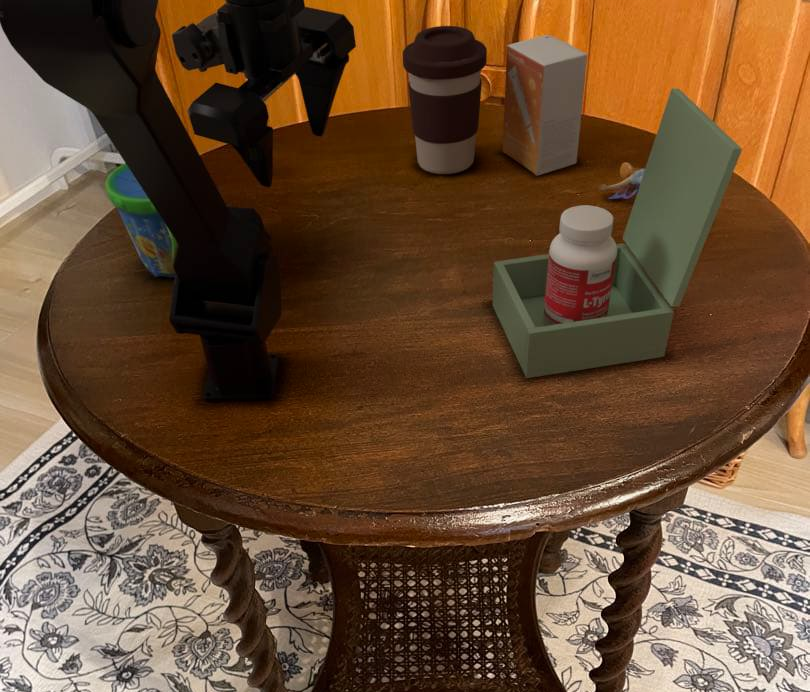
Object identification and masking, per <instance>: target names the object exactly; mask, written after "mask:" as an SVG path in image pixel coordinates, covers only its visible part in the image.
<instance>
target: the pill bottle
mask: <svg viewBox="0 0 810 692" xmlns="http://www.w3.org/2000/svg"><path fill="white" fill-rule="evenodd" d="M613 225H614V216H613V214H612V213H611V212H610V211H608V210H607V209H605V208H603V207H601V206H595V205H587V204H583V205H575V206H571V207H569V208H567V209H565V210H563V212H561V214H560V219H559V226H558V229H559V233H558V234H557V235H556V236H555V237H554V238H553V239H552V241H551V243H550V245H549V250H548V254H549V260H548V271H547V282H546V293H545V304H544V316H543V319H544V323H545V325H546V326H549V325H556V324H563V323H569V322H576V321H583V320H589V319H596V318H603V317H607V315H608V308H609V302H610V295H611V288H612V282H613V275H614V269H615V263H616V256H617V246H616V244H617V242H616V241H615V239H614V238H613V237H612V233H613Z"/></svg>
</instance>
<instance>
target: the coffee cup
mask: <svg viewBox="0 0 810 692" xmlns="http://www.w3.org/2000/svg"><path fill="white" fill-rule="evenodd" d="M487 55H488V50H487V47H486V45H485V44H484V43H483V42H482V41H479V39H478V40H477V39H476V37H475V35H474V33H473V32H472V31H471V30H470V29H469V28H466V27H462V26H458V25H457V26H455V25H439V26H438V25H437V26H432V27H429V28H425V29H422V30H421V31H419V32H418V33H416V35H415V37H414V40H413V42H411V43H409V44H408V45H407V46H406V47H404V49H403V50H402V65H403V69H404V70H405V71H406V72H407V73H408V84H407V86H408V97H409V107H410V116H411V127H412V132H413V135H414V139H415V148H416V149H415V150H416V158H417V164H418V166H419V167H420V168H421V169H422V170H424V171H426V172H429V173H431V174H435V175H436V174H437V175H452V174H457V173H461V172H464V171H466V170H468V169H469V168H471V166H472V165H473V163H474V160H475V152H476V151H475V150H476V138H477V133H478V130H479V123H480V113H481V112H480V110H481V97H482V85H483V82H482V81H483V80H482V78H481V75H482V70H483V69H484V68H485V67H486V65H487V59H488V58H487V57H488V56H487Z"/></svg>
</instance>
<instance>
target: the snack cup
mask: <svg viewBox="0 0 810 692" xmlns="http://www.w3.org/2000/svg"><path fill="white" fill-rule="evenodd" d="M105 189H106V193H107V196H108V199H109V200H110V202H111V203H112V205H113V206H114V207H116V209H117V211H118V213H119V216H120V218H121V220H122V223H123V224H124V226H125V228H126V231H127V233H128V235H129V237H130V240H131V242H132V243H133V245H134V248H135V250H136V252H137V255H138V256H139V258H140V260H141V262H142V264H143V265H144V267H145V268H146V269H147V271H149V272H150V273H151V274H152V275H153V276H154V277H156V278H158V277H164V278H172V279H173V278H174V279H175V271H174V269H173V267H172V261H173V257H174V253H175V249H176V245H177V242H176V240H175V238H174V236H173V235H172V233H171V232H170V230H169V229H168V227H167V226H166V224H165V223H164V221H163V220H162V218H161V217H160V215H159V213H158V212H157V210H156V209H155V207H154V206H153V204H152V203H151V201H150V200H149V198H148V197H147V195H146V194H145V192H144V191H143V189H142V187H141V186H140V184H139V183H138V181H137V180H136V178H135V177H134V175H133V174H132V172H131V171H130V169H129V168H128V166H127V165H126V163H125V162H124V163H123V164H121V165H120V166H118V167H116V168H115V169H114V170H113V171H112V172H111V173H110V174H109V175H108V176H107V178H106V181H105Z"/></svg>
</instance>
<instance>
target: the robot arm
mask: <svg viewBox="0 0 810 692" xmlns="http://www.w3.org/2000/svg"><path fill="white" fill-rule="evenodd" d="M224 2H225V3H224V4H223V5H222V6H220V7H219V8H217V9H216V12H214V13H212V14H210V15H208V16H206V17H205V18H203V19H202V20H200V21H199V22H198V23H197V24H196V23H194V22H191V23H190V24H189V25H187V26H186V25H182V26H181V27H180V28H178V29H177V30H176V31H174V32H173V33H172V34H171V38H172V43H173V47H174V52H175V56H176V57H177V59H178V61H179V62H180V64H181V67H183V68H184V69H186V70H187V71H193V70H198V71H199V72H200V73H205V72H206V71H208V69H211V68H215V67H219V66H222V65H224V69H225V72H226V73H229V74H232V75H238V74H239V73H241V74H243V75H244V78H245V79H246V80H245V81H244V82H243V83H242V84H241V85H240V86H239V87H235V86H232V85H228V84H224V83H219V82H215V83H213V84H212V85H211V86H210V87H208V88H207V89H206V90H205V91H203V93H201V94H200V95H199V96H198V97H197V98H196V99H194V100H193V101H192V102H191V104H190V105H189V107H188V109H187V114H188V118H189V121H190V124H191V128H192V131H193V134H194V135H195V136H197V137H202V138H205V139H209V140H213V141H216V142H220V143H223V144H225V145H226V144H227V145H230V146H231V147H233V149H234V150H235V151H236V152H237V154H238V155H239V156H240V157H241V159H242V161H244V163H245V165H246V166H247V167H248V169H249V170H250V172H251V174H252V175H253V176H254V177H255V179H256V180H257V182H258V183H259V184H260V185H261V186H262V187H265V188H271V186H272V185H273V175H274V128H273V126H269V125H268V121H269V117H270V116H269V111H268V107H267V104H266V103H265V102H266V101H267V100H268V99H269V98H270V97H271V96H273V95H274V94H275V93H276V92H277V91H278V90H280V88H281V87H282V86H284V85H285V84H286V83H288V81H289V80H291V78H292V77H294V76H296V78H297V79H298V82H299V86H300V91H301V96H302V100H303V103H304V108H305V112H306V116H307V120H308V123H309V126H310V130H311V133H312V134H313V136H315V137H316V136H317V137H320V138H321V137H323V136H324V134H325V131H326V128H327V124H328V120H329V118H330V115H331V110H332V107H333V104H334V100H335V97H336V94H337V92H338V88H339V85H340V82H341V79H342V76H343V74H344V71H345V69H346V68H345V67H346V65H347V64H348V63H349V61H350V53H351V52H352V51H353V50H354V49H355V48H356V47H357V45H356V35H355V28H354V25H353V24H352V23H351V22H350V20H349V19H348V18H347V16H346V15H345V14H342V13H338V12H334V11H328V10H324V9H319V8H315V7H309V6H306V3H305V0H224ZM158 4H159V0H0V27H1V30H2V32H3V33H4V35H5V37H6V39H7V40H8V42H9V44H10V45H11V47H12V48H13V49H14V51H15V52H16V53H17V55H19V56H20V57H21V58H22V60H23V61H24V62H25V63H26V64H27V65H28V66H29V67H30V68H31V69H32V70H33V71H34V73H35V74H37V76H38V77H39V78H40V79H41V80H42V81H43V82H44V83H45V84H47V85H49V87H52V88H53V89H55V90H57V91H58V92H60V93H61V94H63V95H65V96H66V97H68V98H70V99H72V100H73V101H75V102H76V103H78V104H79V105H81V106H82V107H85V108H86V109H87V110H89V111H90V112H91V113H92V114H93V116H94V117H95V119H96V120H97V122H98V123H99V126H101V128H102V129H103V131H104V133H105V134H106V136H107V137H108V138H109V140H110V142H111V143H112V144H113V146H114V148H115V150H116V151H117V153H118V154H119V156H120V157H121V159H122V160H123V162H124V164H125V163H126V165H127V166H128V168H129V169H130V171H131V172H132V174H133V175H134V177H135V178H136V180H137V181H138V183H139V184H140V186H141V187H142V189H143V191H144V192H145V194H146V195H147V197H148V198H149V200H150V201H151V203H152V204H153V206H154V207H155V209H156V210H157V212H158V213H159V215H160V217H161V218H162V220H163V221H164V223H165V224H166V226H167V227H168V229H169V230H170V232H171V233H172V235H173V236H174V238H175V240H176V242H177V245H176V249H175V253H174V257H173V261H172V267H173V269H174V271H175V277H174V280H173V288H172V294H171V302H170V309H169V318H168V319H169V323H170V324H171V327H173V329H174V330H175V332H176V334H179V335H180V334H181V335H184V334H187V335H195V336H199V338H200V342H201V346H202V350H203V354H204V356H205V361H206V365H207V369H208V372H207V373H208V374H207V378H206V382H205V386H204V390H203V394H202V395H203V396H202V397H203V399H204V401H206V402H226V401H228V402H229V401H251V400H255V401H256V400H269V399H272V398H273V397H274V393H275V386H276V380H277V374H278V367H279V361H280V359H279V355H278V354H277V353H269V352H268V347H267V340H268V339H269V336H270V335H271V334H272V331H273V330H274V329H275V327H276V325H277V323H278V322H279V321H280V318H281V317H282V287H281V286H282V284H281V282H282V281H281V265H280V264H281V263H280V260H279V257H278V256H277V255H276V253H275V250H274V248H273V246H272V244H271V242H272V240H273V237H272V235H271V234H269V233H268V232H267V230H266V228H265V225H264V223H263V219H262V216H261V215H260V213H259V212H257V210H256V209H255V208H254V207H253V208H252V207H243V206H242V207H241V206H233V205H232V206H230V205H227V204H226V202H225V200H224V198H223V197H222V194H221V193H220V190H219V189H218V187H217V185H216V183H215V181H214V180H213V177H212V176H211V174H210V172H209V170H208V168H207V166H206V164H205V163H204V161H203V159H202V157H201V155H200V153H199V151H198V150H197V148H196V146H195V143H194V142H193V140H192V138H191V137H190V134H189V133H188V131H187V129H186V127H185V124H184V123H183V121H182V119H181V118H180V116H179V114H178V111H177V110H176V108H175V106H174V105H173V103H172V100H171V99H170V96H169V95H168V93H167V91H166V89H165V87H164V85H163V83H162V82H161V80H160V78H159V75H158V73H157V70H156V66H157V60H158V52H159V49H160V48H159V47H160V40H161V33H162V31H161V27H160V25H159V22H158V20H157V17H156V14H157V10H158V9H157V8H158Z"/></svg>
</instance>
